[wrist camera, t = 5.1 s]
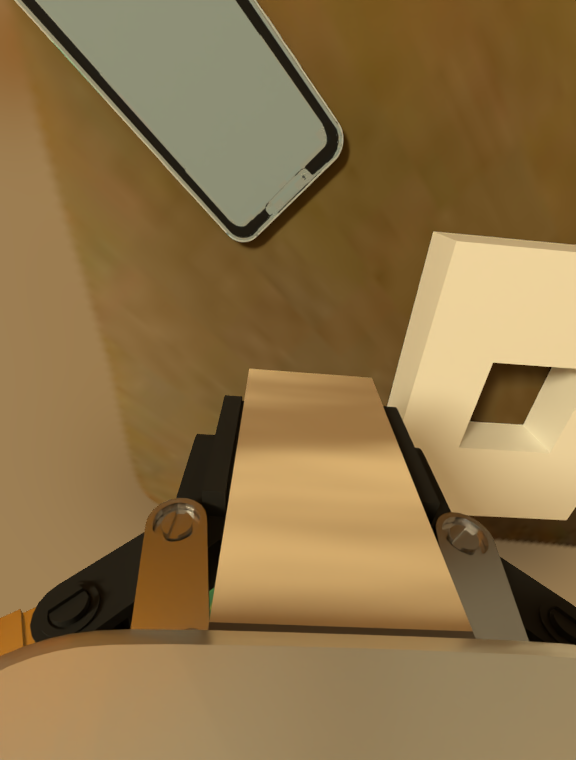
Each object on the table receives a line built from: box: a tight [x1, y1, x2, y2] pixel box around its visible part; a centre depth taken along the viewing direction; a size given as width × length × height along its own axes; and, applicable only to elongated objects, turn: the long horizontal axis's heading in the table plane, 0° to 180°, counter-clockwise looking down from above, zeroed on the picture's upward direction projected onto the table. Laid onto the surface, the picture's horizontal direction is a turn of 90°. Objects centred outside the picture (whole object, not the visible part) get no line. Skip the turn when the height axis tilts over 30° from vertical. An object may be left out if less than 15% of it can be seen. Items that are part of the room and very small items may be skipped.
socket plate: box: [387, 231, 576, 520], centre depth 23 cm, size 18×14×3 cm
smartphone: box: [15, 0, 344, 242], centre depth 16 cm, size 7×1×15 cm
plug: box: [208, 369, 476, 639], centre depth 10 cm, size 4×4×8 cm
